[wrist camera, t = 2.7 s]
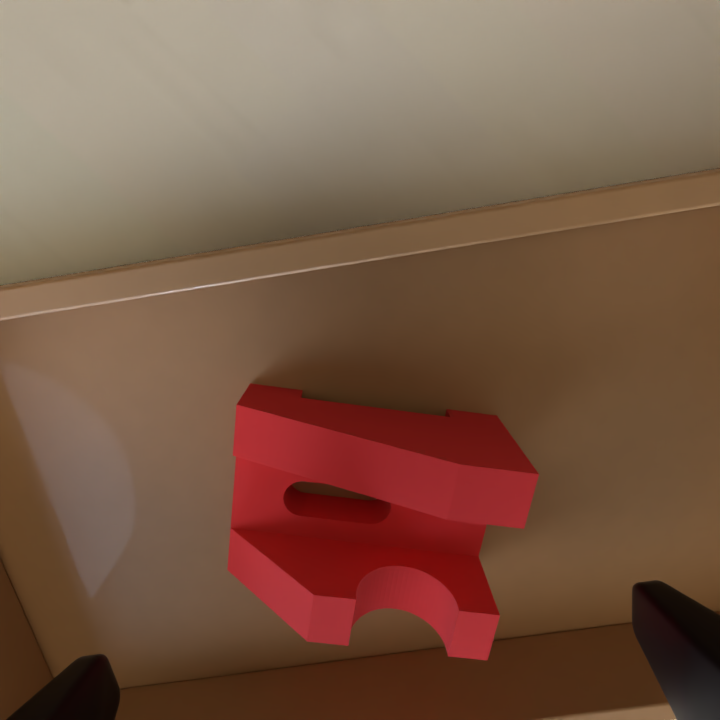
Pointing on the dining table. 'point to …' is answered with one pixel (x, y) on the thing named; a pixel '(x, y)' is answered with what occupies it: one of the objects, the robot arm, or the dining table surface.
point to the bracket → (372, 513)
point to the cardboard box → (366, 388)
